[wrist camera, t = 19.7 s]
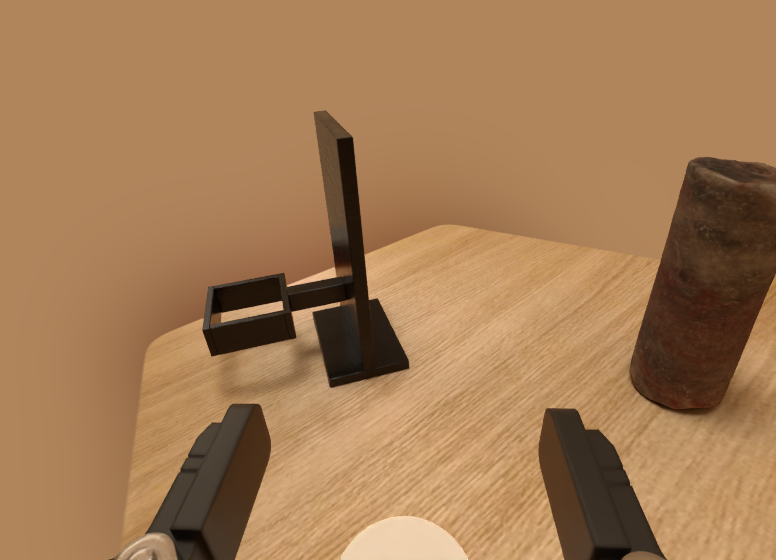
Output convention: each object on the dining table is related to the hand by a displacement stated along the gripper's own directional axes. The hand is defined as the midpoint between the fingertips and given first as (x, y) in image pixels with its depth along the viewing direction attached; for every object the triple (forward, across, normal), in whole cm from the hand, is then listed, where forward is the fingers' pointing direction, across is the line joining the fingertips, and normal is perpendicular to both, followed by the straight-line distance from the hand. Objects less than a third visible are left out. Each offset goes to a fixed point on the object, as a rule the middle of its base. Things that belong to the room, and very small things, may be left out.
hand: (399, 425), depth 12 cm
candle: (+22, -23, +20) cm, 38 cm away
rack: (+27, +11, +20) cm, 35 cm away
